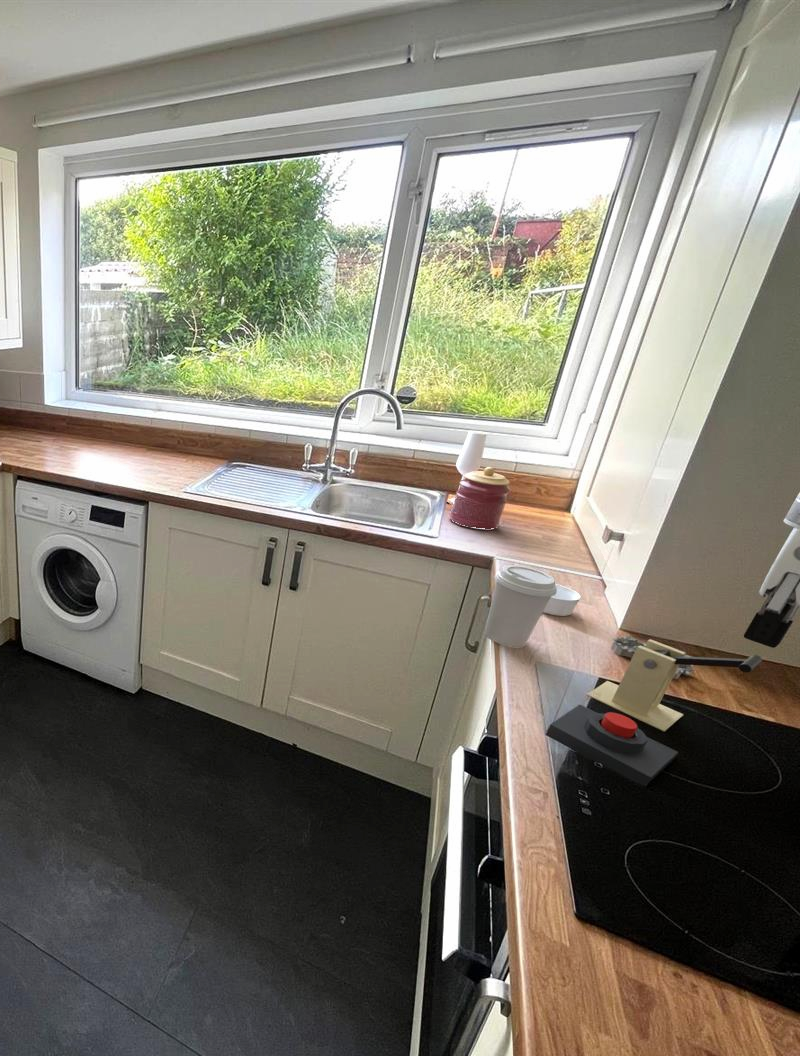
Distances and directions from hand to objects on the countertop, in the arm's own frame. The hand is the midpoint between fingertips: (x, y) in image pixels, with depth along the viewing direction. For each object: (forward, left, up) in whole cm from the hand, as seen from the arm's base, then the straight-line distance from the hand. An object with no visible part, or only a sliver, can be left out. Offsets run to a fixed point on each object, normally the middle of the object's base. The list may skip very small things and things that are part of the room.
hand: (760, 641), depth 81 cm
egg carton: (+13, -19, -19) cm, 29 cm away
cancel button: (+7, +15, -15) cm, 22 cm away
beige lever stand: (+9, 0, -18) cm, 20 cm away
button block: (+7, +15, -18) cm, 25 cm away
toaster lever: (+4, 0, -7) cm, 8 cm away
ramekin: (+32, -28, -19) cm, 47 cm away
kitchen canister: (+70, -69, -19) cm, 100 cm away
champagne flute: (+83, -84, -19) cm, 119 cm away
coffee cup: (+30, -3, -19) cm, 35 cm away
